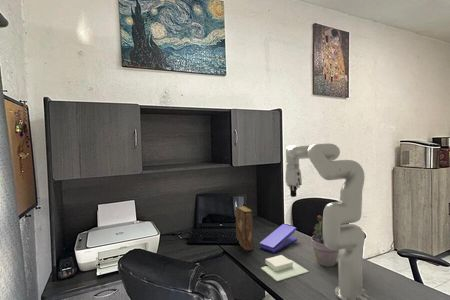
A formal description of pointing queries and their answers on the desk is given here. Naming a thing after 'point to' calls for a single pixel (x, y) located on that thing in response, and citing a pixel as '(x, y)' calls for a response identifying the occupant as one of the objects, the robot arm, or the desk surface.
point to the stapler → (279, 238)
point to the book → (244, 227)
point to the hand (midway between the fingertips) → (293, 196)
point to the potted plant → (322, 247)
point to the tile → (279, 263)
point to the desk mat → (285, 272)
